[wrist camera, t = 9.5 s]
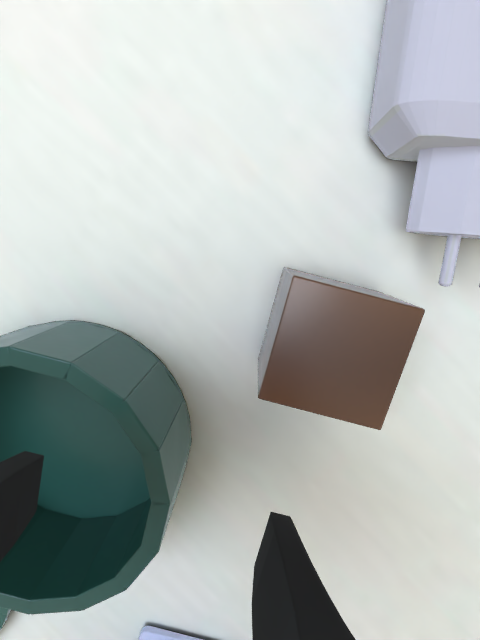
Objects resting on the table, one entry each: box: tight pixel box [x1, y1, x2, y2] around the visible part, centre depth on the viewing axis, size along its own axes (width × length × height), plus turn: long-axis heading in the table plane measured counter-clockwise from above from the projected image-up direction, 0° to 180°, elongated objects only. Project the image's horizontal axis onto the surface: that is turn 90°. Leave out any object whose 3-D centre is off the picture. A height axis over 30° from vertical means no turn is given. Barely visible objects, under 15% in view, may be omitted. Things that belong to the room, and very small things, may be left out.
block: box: [258, 267, 425, 430], centre depth 16 cm, size 5×5×5 cm
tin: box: [0, 320, 192, 614], centre depth 18 cm, size 12×12×5 cm
